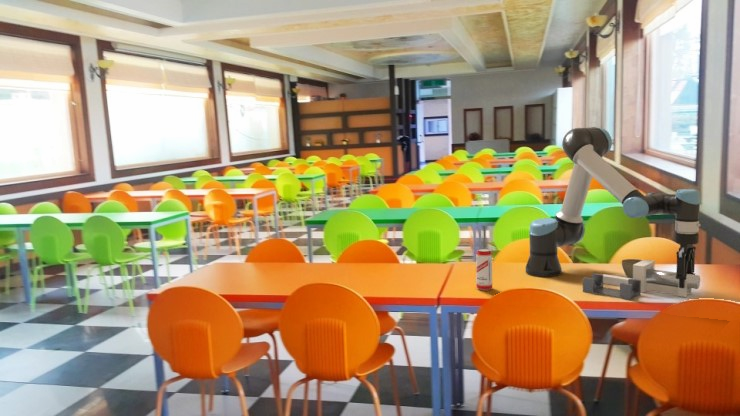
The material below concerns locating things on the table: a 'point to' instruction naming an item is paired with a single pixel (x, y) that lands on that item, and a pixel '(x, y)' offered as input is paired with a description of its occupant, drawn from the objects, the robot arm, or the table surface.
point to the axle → (671, 278)
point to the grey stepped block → (642, 279)
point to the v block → (625, 291)
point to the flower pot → (629, 266)
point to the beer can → (484, 269)
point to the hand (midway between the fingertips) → (684, 294)
